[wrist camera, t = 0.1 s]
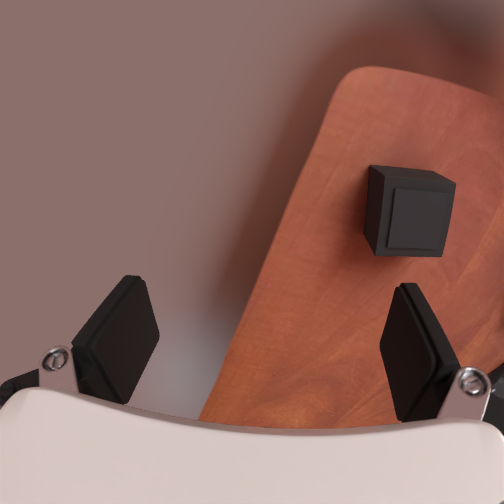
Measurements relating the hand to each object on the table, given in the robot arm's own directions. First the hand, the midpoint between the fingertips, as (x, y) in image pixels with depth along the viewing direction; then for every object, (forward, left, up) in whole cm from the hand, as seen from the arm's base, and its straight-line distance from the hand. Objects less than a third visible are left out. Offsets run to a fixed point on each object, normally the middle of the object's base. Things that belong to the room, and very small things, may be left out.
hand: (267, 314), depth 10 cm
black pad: (0, +10, -14) cm, 18 cm away
